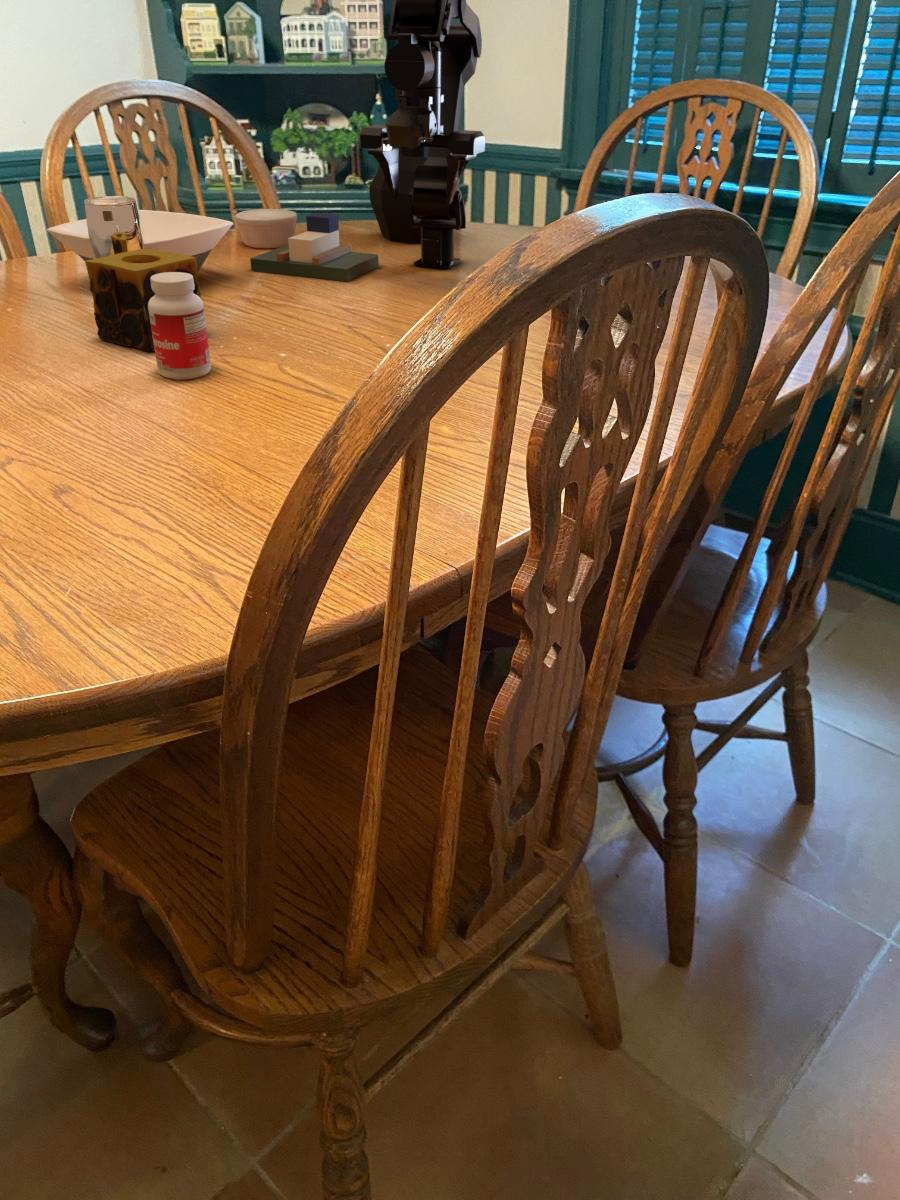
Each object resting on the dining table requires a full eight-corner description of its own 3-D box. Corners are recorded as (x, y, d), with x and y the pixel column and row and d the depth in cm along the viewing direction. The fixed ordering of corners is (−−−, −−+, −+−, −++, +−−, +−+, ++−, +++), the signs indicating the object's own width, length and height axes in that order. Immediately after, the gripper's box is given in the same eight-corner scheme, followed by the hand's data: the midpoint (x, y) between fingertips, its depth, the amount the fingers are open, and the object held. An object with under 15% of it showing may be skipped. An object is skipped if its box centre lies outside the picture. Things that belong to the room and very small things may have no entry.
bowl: (44, 287, 140) (31, 229, 136) (149, 259, 157) (141, 207, 153) (152, 306, 132) (142, 245, 127) (251, 275, 149) (245, 220, 144)
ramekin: (228, 247, 166) (225, 217, 164) (252, 236, 176) (249, 207, 173) (285, 251, 165) (283, 220, 162) (307, 239, 174) (305, 210, 171)
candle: (150, 354, 113) (136, 271, 108) (96, 340, 118) (80, 260, 112) (209, 334, 121) (199, 256, 115) (155, 322, 125) (143, 246, 120)
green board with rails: (287, 256, 161) (285, 237, 160) (378, 266, 156) (378, 247, 154) (251, 270, 152) (249, 250, 150) (347, 281, 146) (346, 261, 145)
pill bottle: (148, 372, 108) (132, 276, 102) (190, 360, 112) (177, 267, 106) (179, 384, 104) (164, 286, 98) (222, 372, 108) (211, 276, 102)
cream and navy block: (318, 249, 157) (316, 212, 154) (340, 251, 156) (338, 214, 153) (289, 261, 149) (286, 222, 146) (312, 263, 148) (309, 224, 145)
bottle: (409, 249, 168) (408, 61, 152) (356, 235, 178) (349, 58, 162) (472, 238, 177) (476, 60, 161) (417, 225, 187) (416, 57, 171)
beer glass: (140, 322, 125) (120, 205, 117) (94, 318, 126) (71, 202, 118) (163, 309, 131) (146, 197, 123) (119, 305, 132) (99, 194, 124)
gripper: (339, 87, 130) (344, 204, 138) (461, 92, 124) (459, 214, 133) (373, 83, 138) (375, 194, 147) (488, 88, 133) (484, 203, 141)
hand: (421, 201), depth 142 cm, fingers open, 9 cm apart
